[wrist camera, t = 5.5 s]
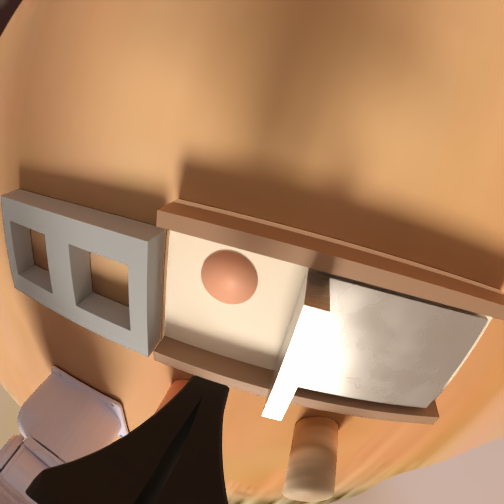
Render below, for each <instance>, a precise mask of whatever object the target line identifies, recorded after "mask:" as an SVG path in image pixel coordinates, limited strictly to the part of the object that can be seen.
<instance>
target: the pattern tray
mask: <svg viewBox="0 0 504 504" xmlns="http://www.w3.org/2000/svg"><path fill="white" fill-rule="evenodd" d="M156 226H157V227H160V228H164V229H168V230H170V238H169V251H168V265H167V282H166V304H165V336H164V337H163V339H162V340H161V341H160V343H159V344H158V345H157V347H156V348H155V350H154V351H153V352H154V360H156V361H158V362H161V363H163V364H166V365H168V366H171V367H174V368H176V369H179V370H182V371H184V372H187V373H190V374H193V375H196V376H199V377H202V378H205V379H208V380H211V381H214V382H217V383H220V384H223V385H227V386H229V387H232V388H235V389H238V390H242V391H245V392H249V393H252V394H256V395H260V396H263V397H267V394H268V390H269V386H270V382H271V378H272V374H273V370H274V367H275V365H276V362H277V359H278V356H279V354H280V351H281V348H282V345H283V342H284V339H285V336H286V333H287V330H288V328H289V325H290V322H291V319H292V316H293V313H294V310H295V306H296V303H297V300H298V297H299V294H300V291H301V288H302V285H303V281H304V278H305V275H306V272H307V269H308V268H312V269H316V270H319V271H323V272H327V273H330V274H334V275H338V276H341V277H345V278H349V279H353V280H356V281H360V282H364V283H367V284H371V285H375V286H378V287H382V288H386V289H390V290H393V291H397V292H401V293H404V294H408V295H412V296H415V297H419V298H423V299H427V300H430V301H434V302H438V303H441V304H445V305H449V306H452V307H456V308H460V309H464V310H467V311H471V312H475V313H478V314H482V315H485V316H486V317H487V319H488V322H487V323H486V325H485V327H484V328H483V330H482V332H481V333H480V335H479V337H478V338H477V340H476V341H475V343H474V345H473V346H472V348H471V349H470V351H469V352H468V354H467V355H466V357H465V358H464V360H463V361H462V363H461V364H460V365H459V367H458V368H457V370H456V371H455V372H454V374H453V375H452V376H451V378H450V379H449V380H448V382H447V383H446V384H445V386H444V387H443V388H442V390H441V391H440V392H439V393H438V395H437V396H436V397H435V398H434V399H433V401H432V402H431V403H430V404H429V405H428V407H427V408H419V407H410V406H402V405H394V404H386V403H379V402H373V401H367V400H361V399H355V398H349V397H344V396H339V395H334V394H329V393H324V392H319V391H314V390H310V389H306V388H301V387H297V389H296V391H295V393H294V395H293V397H292V399H291V401H290V403H291V404H295V405H300V406H304V407H309V408H314V409H318V410H324V411H329V412H334V413H340V414H345V415H352V416H358V417H365V418H372V419H379V420H388V421H397V422H407V423H420V424H434V423H435V422H436V421H437V420H438V418H439V414H438V410H437V406H436V402H435V400H436V399H437V398H438V396H439V395H440V394H441V393H442V391H443V390H444V389H445V388H446V386H447V385H448V384H449V382H450V381H451V380H452V378H453V377H454V376H455V374H456V373H457V372H458V370H459V369H460V367H461V366H462V365H463V363H464V362H465V360H466V359H467V357H468V356H469V355H470V353H471V352H472V350H473V348H474V347H475V345H476V344H477V342H478V341H479V339H480V338H481V336H482V334H483V333H484V331H485V329H486V328H487V326H488V324H489V323H490V321H491V319H492V317H493V318H497V319H501V320H504V294H503V293H502V291H501V290H499V289H496V288H493V287H490V286H487V285H484V284H481V283H478V282H475V281H472V280H469V279H466V278H463V277H460V276H457V275H454V274H451V273H448V272H445V271H441V270H438V269H435V268H432V267H429V266H426V265H422V264H419V263H416V262H413V261H409V260H406V259H403V258H399V257H396V256H393V255H389V254H386V253H383V252H379V251H376V250H372V249H369V248H366V247H362V246H359V245H355V244H352V243H348V242H345V241H341V240H337V239H334V238H330V237H327V236H323V235H319V234H316V233H312V232H308V231H305V230H301V229H297V228H293V227H290V226H286V225H282V224H278V223H274V222H271V221H267V220H263V219H259V218H255V217H251V216H247V215H243V214H239V213H235V212H231V211H227V210H223V209H219V208H215V207H210V206H206V205H202V204H198V203H194V202H189V201H185V200H181V199H177V200H175V201H173V202H171V203H169V204H167V205H166V206H164V207H162V208H160V209H158V210H157V220H156Z"/></svg>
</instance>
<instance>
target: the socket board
mask: <svg viewBox="0 0 504 504" xmlns="http://www.w3.org/2000/svg"><path fill="white" fill-rule="evenodd" d="M1 206H2V216H3V225H4V233H5V240H6V246H7V252H8V258H9V263H10V268H11V273H12V278H13V282H14V287H15V288H16V289H18V290H19V291H21V292H22V293H24V294H26V295H27V296H29V297H31V298H32V299H34V300H36V301H37V302H39V303H41V304H42V305H44V306H46V307H47V308H49V309H51V310H53V311H54V312H56V313H58V314H60V315H62V316H63V317H65V318H67V319H69V320H71V321H73V322H75V323H77V324H78V325H80V326H82V327H84V328H86V329H88V330H90V331H92V332H94V333H96V334H98V335H100V336H102V337H105V338H107V339H109V340H111V341H113V342H115V343H117V344H120V345H122V346H124V347H126V348H128V349H131V350H133V351H135V352H138V353H140V354H142V355H145V356H147V357H149V355H150V354H151V353H152V351H153V350H154V349H155V347H156V346H157V344H158V343H159V342H160V340H161V339H162V300H163V276H164V258H165V244H166V231H167V229H164V228H160V227H157V226H154V225H151V224H147V223H143V222H140V221H136V220H132V219H128V218H125V217H121V216H117V215H114V214H110V213H106V212H103V211H99V210H95V209H91V208H88V207H84V206H80V205H77V204H73V203H69V202H66V201H62V200H58V199H54V198H51V197H47V196H43V195H40V194H36V193H32V192H29V191H25V190H21V189H18V190H15V191H13V192H10V193H7V194H4V195H2V196H1ZM30 229H32V230H34V231H37V232H39V233H42V234H44V235H45V243H46V251H47V259H48V267H49V271H47V270H45V269H43V268H41V267H39V266H37V265H35V264H34V258H33V251H32V243H31V235H30ZM90 252H92V253H94V254H97V255H100V256H103V257H105V258H108V259H111V260H114V261H117V262H120V263H122V264H125V265H128V289H129V307H128V306H125V305H123V304H120V303H118V302H115V301H113V300H110V299H108V298H106V297H103V296H101V295H99V294H96V293H94V292H93V288H92V278H91V266H90Z"/></svg>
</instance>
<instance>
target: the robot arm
mask: <svg viewBox="0 0 504 504" xmlns="http://www.w3.org/2000/svg"><path fill="white" fill-rule="evenodd" d="M51 370H52V372H53V373H51V375H50V376H49V377H48V378H47V379H46V380H45V381H44V382H43V383H42V384H41V385H40V386H39V387H38V388H37V389H36V391H35V392H34V393H33V394H32V395H31V396H30V397H29V398H28V399H27V400H26V402H25V403H24V404H23V406H22V407H21V410H20V412H19V415H18V427H19V430H20V432H21V433H22V434H23V436H25V437H26V439H25V441H24V442H23V440H24V437H23V436H22V435H21V434H20V435H15V434H14V435H13V436H12V437H11V438H10V439H9V440H8V442H7V443H6V444H5V445H4V446H3V448H2V449H1V450H0V504H228V501H227V495H226V488H225V481H224V472H223V459H222V425H223V414H224V409H225V405H226V401H227V397H228V392H229V387H228V386H227V385H223V384H220V383H217V382H214V381H211V380H208V379H205V378H202V377H199V376H196V375H195V376H192V377H191V379H190V380H189V381H188V382H187V384H186V385H185V386H184V387H183V388H182V389H181V390H180V391H179V392H178V393H177V394H176V395H175V396H174V397H173V398H172V399H171V400H170V401H169V402H168V403H167V404H166V405H164V406H163V407H162V408H161V409H160V410H159V411H158V412H157V413H155V414H154V415H153V416H152V417H150V418H149V419H148V420H146V421H145V422H144V423H142V424H141V425H140V426H138V427H137V428H136V429H134V430H133V431H131V432H130V433H129V432H128V429H127V425H126V421H125V417H124V413H123V409H122V405H121V404H120V403H119V402H117V401H115V400H113V399H111V398H109V397H107V396H105V395H103V394H102V393H100V392H98V391H96V390H94V389H92V388H91V387H89V386H87V385H85V384H84V383H82V382H80V381H78V380H77V379H75V378H73V377H72V376H70V375H68V374H67V373H65V372H64V371H62V370H60V369H59V368H57V367H56V366H52V367H51ZM116 436H119V437H121V438H120V439H118V440H117V441H115V442H113V441H114V439H115V438H116Z"/></svg>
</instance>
